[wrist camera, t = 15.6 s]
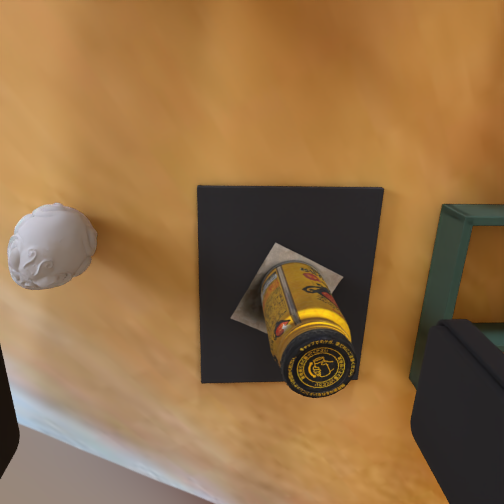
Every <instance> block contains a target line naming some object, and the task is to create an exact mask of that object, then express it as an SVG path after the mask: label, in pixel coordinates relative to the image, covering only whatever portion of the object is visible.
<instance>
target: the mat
mask: <svg viewBox="0 0 504 504" xmlns="http://www.w3.org/2000/svg"><path fill="white" fill-rule="evenodd" d="M383 193H384V189H383V188H382V187H301V186H203V185H198V186H197V203H198V249H199V296H200V342H201V383H239V382H283V381H284V380H283V377H282V375H281V370H280V366H279V365H278V364H277V362H276V361H275V360H274V358H273V355H272V353H271V348H270V343H269V338H268V334H267V333H265V332H262V331H260V330H258V329H256V328H253V327H251V326H249V325H246V324H244V323H241V322H239V321H236V320H234V319H231V316H232V315H233V313H234V311H235V310H236V308H237V306H238V304H239V303H240V301H241V299H242V298H243V296H244V294H245V293H246V291H247V290H248V288H249V286H250V284H251V282H252V281H253V279H254V277H255V276H256V274H257V272H258V270H259V269H260V267H261V266H262V264H263V263H264V261H265V259H266V257H267V256H268V254H269V252H270V251H271V249H272V248H273V246H274V244H275V243H277V244H279V245H281V246H283V247H285V248H287V249H289V250H291V251H293V252H296V253H298V254H300V255H302V256H303V257H306V258H308V259H310V260H312V261H314V262H316V263H317V264H319V265H321V266H323V267H325V268H327V269H329V270H331V271H333V272H335V273H337V274H339V275H341V276H342V277H343V278H342V279H341V281H340V282H339V283H338V285H337V286H336V288H335V290H334V291H333V292H332V296H333V298H334V300H335V302H336V304H337V306H338V307H339V309H340V311H341V313H342V315H343V317H344V318H345V320H346V322H347V324H348V327H349V330H350V334H351V343H352V345H353V348H354V350H355V353H356V356H357V364H356V372H355V374H354V376H353V378H352V379H351V380H358V373H359V366H360V358H361V351H362V344H363V337H364V330H365V322H366V315H367V308H368V301H369V294H370V287H371V279H372V272H373V265H374V258H375V251H376V243H377V236H378V229H379V222H380V215H381V207H382V200H383Z"/></svg>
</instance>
